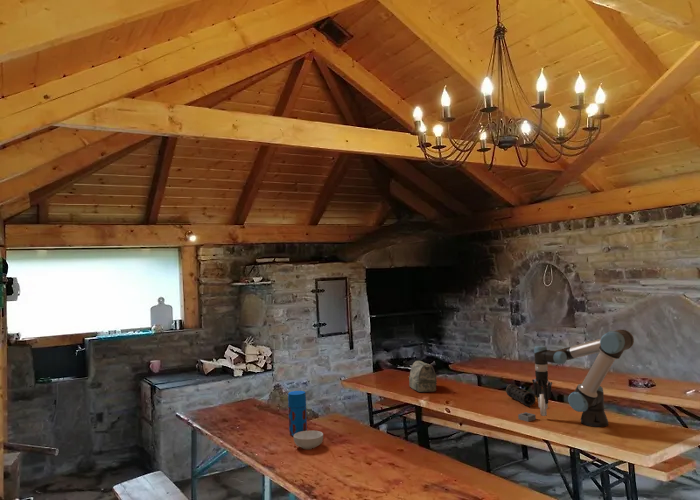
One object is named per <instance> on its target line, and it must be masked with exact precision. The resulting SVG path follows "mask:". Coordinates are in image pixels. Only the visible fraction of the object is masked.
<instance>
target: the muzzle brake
mask: <svg viewBox="0 0 700 500" xmlns="http://www.w3.org/2000/svg"><path fill="white" fill-rule="evenodd" d="M505 391H506V395H507V396H508V397H510V398H511V399H514V401H516V402H520V403H521V404H522V403H523V405H524V406H526V407H528V408H530V407H531V406H533V405H535V403H536V400H537V399H536V398H537V397H536V395H534V394H533V393H532V392H530V391H528V390H526V389H524V388H522V387H520V386H518V385H516V384H509V385H507V386H506V389H505Z"/></svg>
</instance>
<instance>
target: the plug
mask: <svg viewBox="0 0 700 500" xmlns="http://www.w3.org/2000/svg"><path fill="white" fill-rule="evenodd" d="M544 398H545V397H544V393H541V394H540V408H539V409H540V416H542V417H546V416H547V415H548V414H547V409H544Z"/></svg>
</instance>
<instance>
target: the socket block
mask: <svg viewBox="0 0 700 500" xmlns="http://www.w3.org/2000/svg"><path fill="white" fill-rule="evenodd" d="M517 417H518V420H521V421H525V422H527V423H528V422H532V421H535V420H536V419H537V416H536V414H533V413H529V412H526V411H525V412H521V413H518V416H517Z"/></svg>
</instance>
